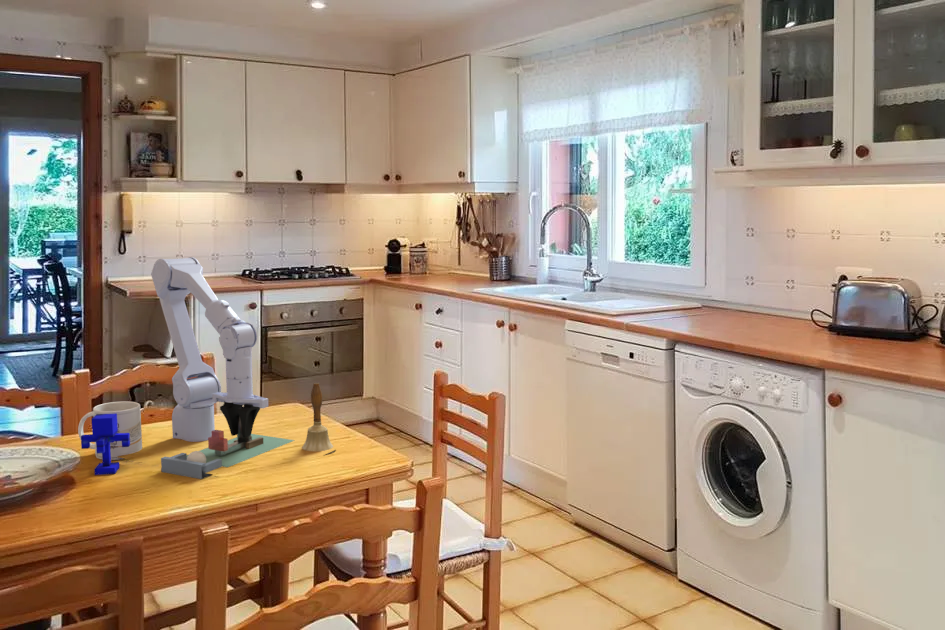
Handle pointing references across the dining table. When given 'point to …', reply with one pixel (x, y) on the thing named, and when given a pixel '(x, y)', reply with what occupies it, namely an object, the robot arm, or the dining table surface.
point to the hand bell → (317, 426)
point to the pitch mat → (245, 450)
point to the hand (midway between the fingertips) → (241, 435)
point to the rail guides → (253, 442)
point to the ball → (197, 457)
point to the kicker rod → (221, 443)
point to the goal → (188, 466)
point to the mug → (119, 426)
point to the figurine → (105, 441)
